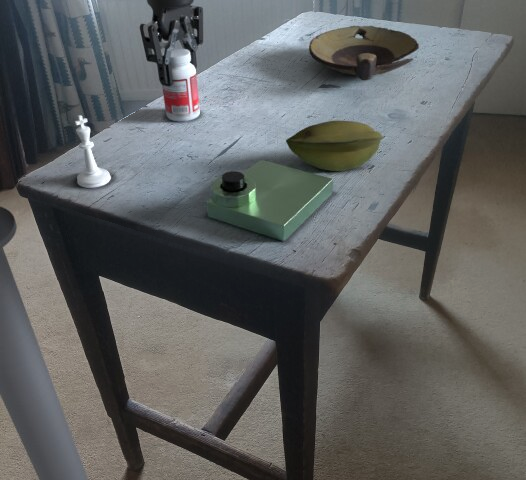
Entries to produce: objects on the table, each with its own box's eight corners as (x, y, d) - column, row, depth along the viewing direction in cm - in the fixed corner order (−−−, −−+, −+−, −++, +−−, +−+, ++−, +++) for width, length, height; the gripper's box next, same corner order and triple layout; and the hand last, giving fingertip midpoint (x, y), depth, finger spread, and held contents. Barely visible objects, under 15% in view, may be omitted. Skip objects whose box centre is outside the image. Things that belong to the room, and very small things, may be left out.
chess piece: (117, 179, 88) (104, 115, 82) (88, 191, 86) (72, 126, 79) (99, 169, 91) (86, 106, 85) (71, 179, 89) (55, 115, 82)
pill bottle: (188, 106, 110) (182, 44, 103) (206, 116, 106) (201, 53, 99) (159, 114, 107) (151, 51, 100) (176, 125, 103) (169, 60, 96)
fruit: (354, 187, 85) (358, 144, 81) (283, 168, 90) (283, 127, 86) (385, 156, 93) (390, 116, 89) (318, 140, 98) (319, 101, 94)
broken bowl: (427, 57, 129) (433, 19, 124) (386, 105, 108) (391, 62, 104) (332, 44, 137) (334, 9, 132) (277, 87, 116) (277, 47, 111)
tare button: (236, 195, 77) (236, 183, 76) (218, 190, 78) (217, 178, 77) (249, 186, 79) (248, 174, 78) (230, 180, 80) (229, 169, 79)
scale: (283, 241, 75) (284, 214, 72) (204, 215, 80) (202, 189, 78) (332, 193, 84) (334, 168, 82) (258, 173, 89) (258, 148, 87)
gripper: (176, -40, 98) (186, 63, 109) (118, -23, 88) (135, 88, 99) (213, -36, 95) (220, 70, 106) (156, -18, 85) (170, 96, 96)
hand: (179, 78), depth 102 cm, fingers closed on pill bottle, 6 cm apart
